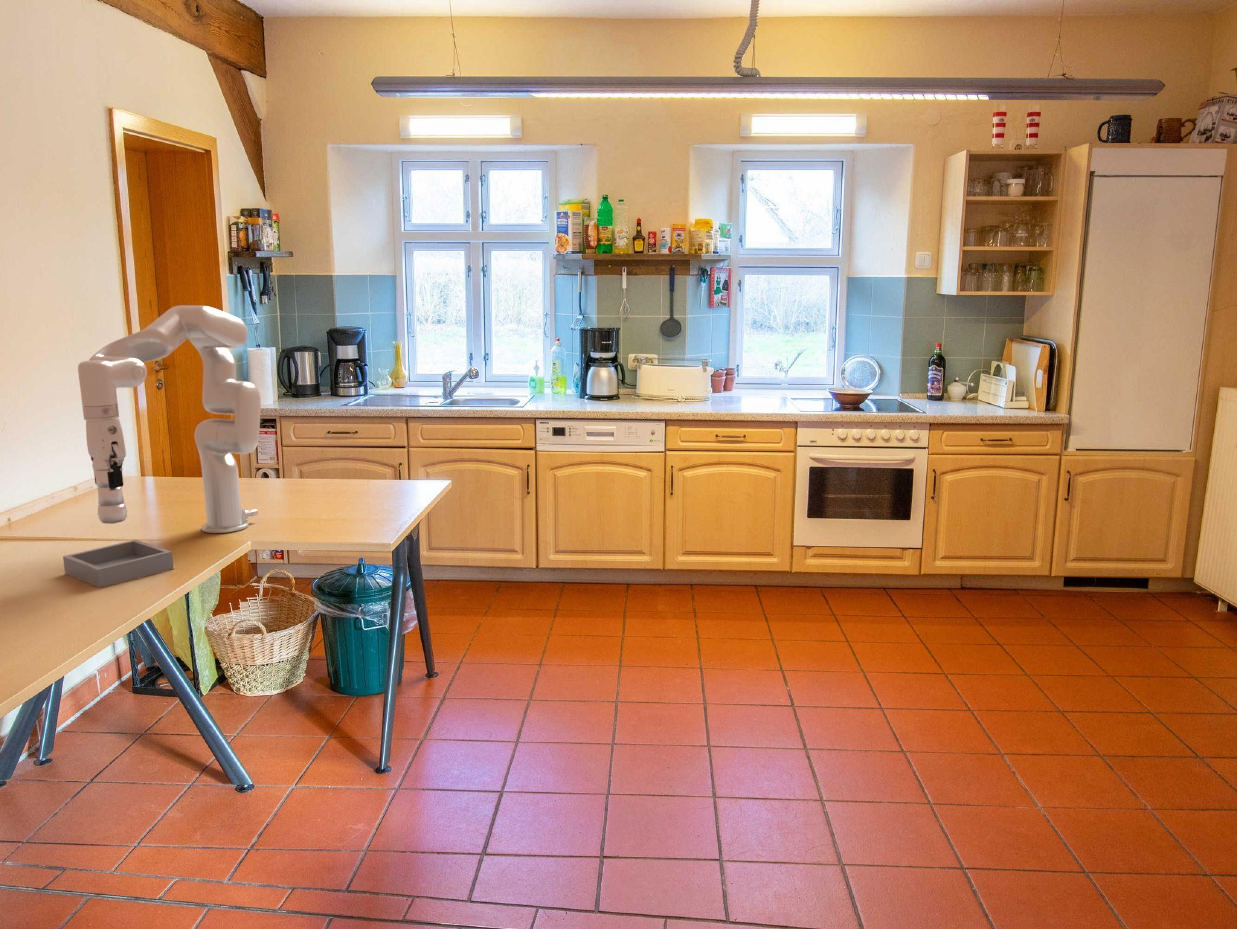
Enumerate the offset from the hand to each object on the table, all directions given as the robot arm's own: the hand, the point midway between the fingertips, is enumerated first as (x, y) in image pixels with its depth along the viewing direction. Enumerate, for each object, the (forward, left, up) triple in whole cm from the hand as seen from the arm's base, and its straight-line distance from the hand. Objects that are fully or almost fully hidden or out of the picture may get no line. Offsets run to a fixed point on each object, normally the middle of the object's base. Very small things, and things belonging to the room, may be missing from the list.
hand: (109, 484), depth 237 cm
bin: (0, 0, -22) cm, 22 cm away
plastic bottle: (0, 0, -10) cm, 10 cm away
